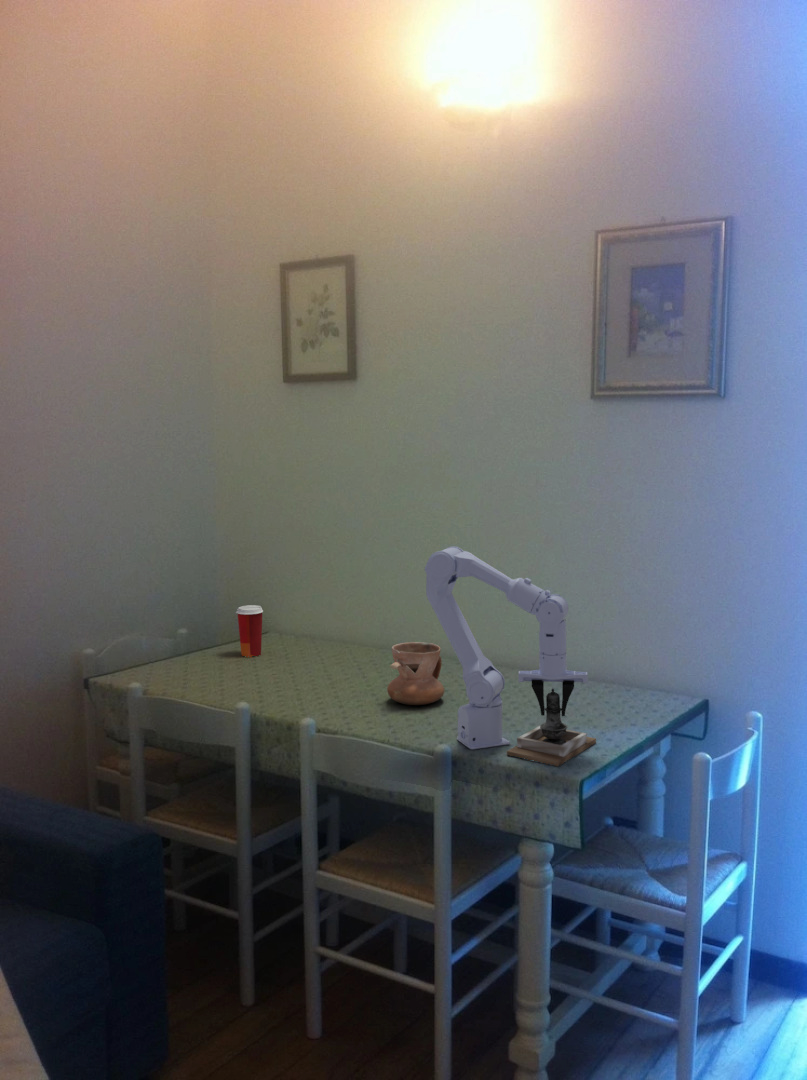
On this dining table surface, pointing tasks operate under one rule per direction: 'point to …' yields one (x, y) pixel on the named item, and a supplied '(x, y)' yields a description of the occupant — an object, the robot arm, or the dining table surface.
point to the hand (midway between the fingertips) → (553, 714)
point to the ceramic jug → (416, 673)
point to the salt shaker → (553, 720)
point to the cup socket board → (550, 747)
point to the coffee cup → (250, 629)
